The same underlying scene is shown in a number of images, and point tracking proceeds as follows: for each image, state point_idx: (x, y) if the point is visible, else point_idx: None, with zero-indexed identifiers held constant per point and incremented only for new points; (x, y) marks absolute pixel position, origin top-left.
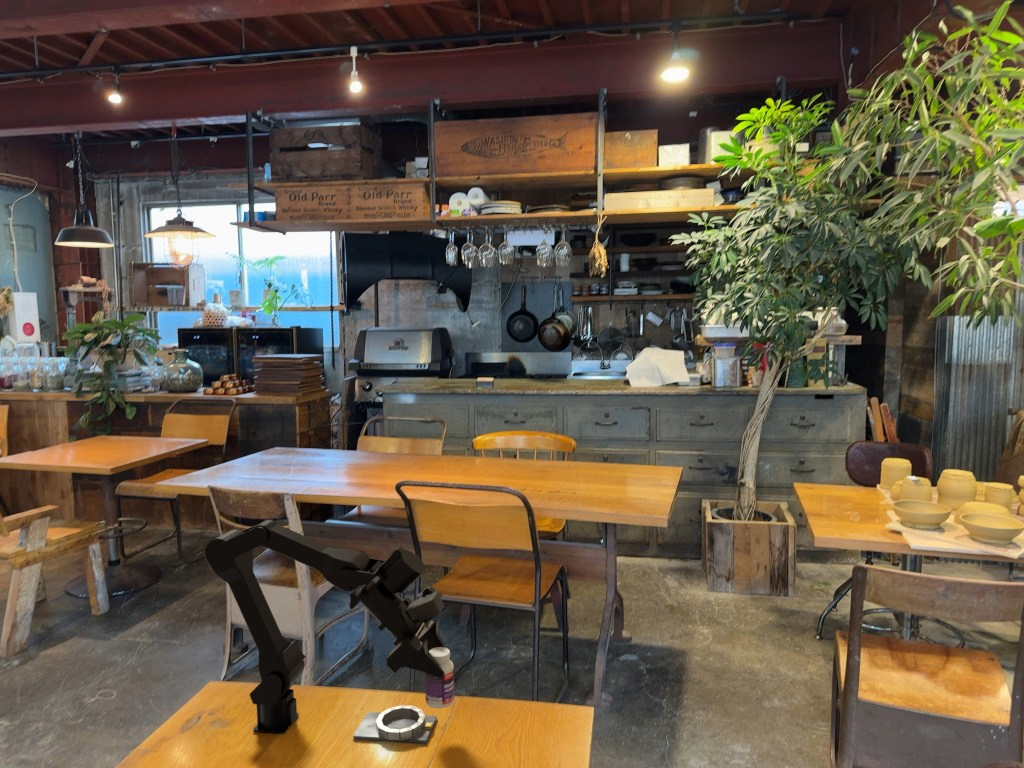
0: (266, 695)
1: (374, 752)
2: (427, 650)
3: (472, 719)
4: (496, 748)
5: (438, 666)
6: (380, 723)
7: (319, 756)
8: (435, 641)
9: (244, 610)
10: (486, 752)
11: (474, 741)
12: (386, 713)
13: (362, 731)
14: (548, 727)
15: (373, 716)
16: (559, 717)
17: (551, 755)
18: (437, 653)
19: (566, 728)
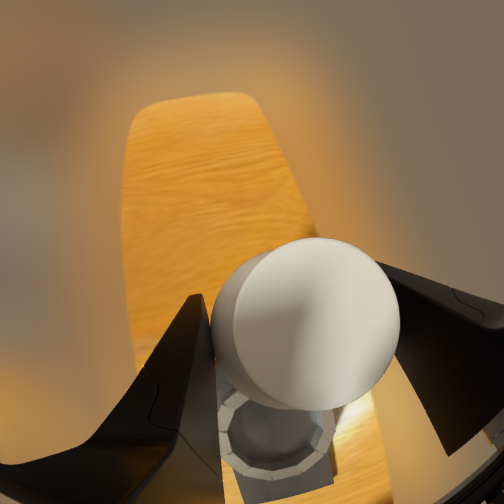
0: None
1: (357, 425)
2: (496, 325)
3: (180, 283)
4: (267, 198)
5: (405, 273)
6: (309, 459)
7: (383, 486)
8: (197, 425)
9: None
10: (286, 212)
11: (260, 247)
12: (267, 470)
13: (316, 479)
14: (177, 137)
15: (258, 490)
16: (145, 132)
17: (255, 118)
18: (355, 322)
19: (175, 116)
